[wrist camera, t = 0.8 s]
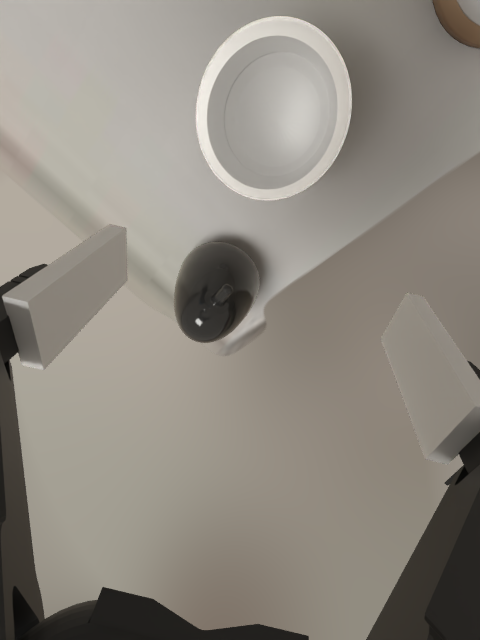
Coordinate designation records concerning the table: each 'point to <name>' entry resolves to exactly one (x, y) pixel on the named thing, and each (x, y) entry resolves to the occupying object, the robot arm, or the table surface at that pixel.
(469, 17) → the thin brown ring
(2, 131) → the table surface
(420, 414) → the robot arm
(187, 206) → the table surface
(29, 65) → the table surface
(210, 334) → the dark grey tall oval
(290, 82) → the jar
